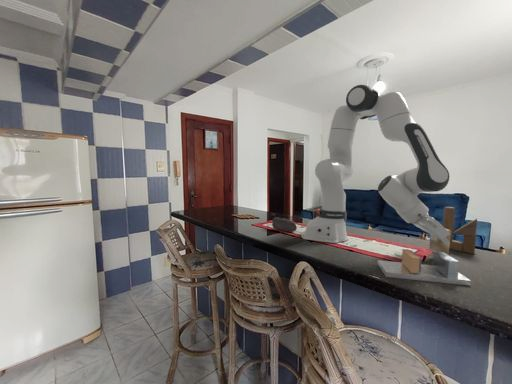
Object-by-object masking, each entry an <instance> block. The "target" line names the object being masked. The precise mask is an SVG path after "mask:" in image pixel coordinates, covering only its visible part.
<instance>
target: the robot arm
mask: <svg viewBox="0 0 512 384" xmlns="http://www.w3.org/2000/svg"><path fill="white" fill-rule="evenodd" d="M345 102H346V105H341V106H339V107H337V108H336V110H335V112H334V114H333V118H332V121H331V124H330V131H329V134H328V135H329V136H328V139H327V140H328V141H327V149H328V152H329V158H326V159H323V160H320V161H319V162H318V163H317V164H316V165H315V167H314V169H315V170H314V173H315V176H316V178H317V179H318V181H319V184H320V185H319V186H320V189H321V196H322V197H321V208H317V209H316V212H317V216H316V217H315V218H313V219H312V220H310V221H309V222H308V223H307V224H306V227H305V230H304V231H302V232H301V235H300V237H301V238H302V239H303V240H307V241H308V240H309V241H315V242H321V243H322V242H325V243H331V244H337V243H340V242H346V241H348V239H349V238H348V233H347V228H346V226H347V225H346V222H347V210H346V200H347V195H346V192H345V190H344V186H343V182H344V181H347V180H348V179H350V178H351V177H352V175H353V174H354V173H353V172H354V170H353V169H354V167H353V165H352V150H353V149H352V148H353V143H354V138H355V132H356V126H357V123H358V121H359V119H360V120H365V119H369V118H374V117H376V118H377V121H378V125H379V128H380V131H381V134H382V135H383V137H384V138H385V139H386V140H389V141H391V142H403V143H405V144H407V145H408V146H409V148H410V150H411V153H412V154H413V157H414V159H415V161H416V163H417V167H414V168H411V169H409V170H406V171H403V172H401V173H398V174H395V175H387V176H386V177H384V179H382V180H381V181H380V182H379V184H378V186H377V191H378V194H379V195H380V196H381V197H382V199H383V200H384V201H385V202H386V203H387V204H388V205H389V206H390V207H392V208H393V209H394V210H395V211H396V213H397V215H399V217H401V218H402V219H403V220H404V222H406V223H407V224H412V225H414V226H415V227H416V228H419V229H421V230H422V231H423V232H426V233H427V234H429V235H430V236H431V235H433V236H434V237H436V238H438V239H440V241H441V242H442V243H444V244H447V243H448V242H449V240H448V239H447V238H446V237H447V236H448V235H449V234H450V233H449V232H448V231H447V230H446V229H445V228H444V227H443V224H441V223H440V222H439V221H438V220H436V219H435V218H434V217H432V216H430V214H429V211H430V209H429V207H428V206H426V204H424V203H423V202H422V200H421V199H420V198H419V197H418V195H420V194H422V193H432V192H434V193H435V192H440V191H442V190H444V189H446V187H447V186H448V184H449V181H450V171H449V170H448V168H447V167H446V165H444V164H443V162H442V161H441V158H440V157H439V155H438V154H437V153H436V150H435V148H434V147H433V145H432V143H431V140H430V139H429V136H428V135H427V133H426V131H425V130H424V128H423V127H422V126H421V124H419V123H417V122H415V120H414V118H413V116H412V114H411V112H410V109H409V106H408V104H407V101H406V100H405V98H404V97H403V95H402V94H401V93H400V92H398V91H390V92H387V93H385V94H380V93H379V92H378V91H377V90H376V89H374V88H373V87H371V86H369V85H366V84H358V85H355V86H353V87H352V88H351V89H350V90H349V91H348V93H347V94H346V98H345Z"/></svg>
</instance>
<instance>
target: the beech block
mask: <svg viewBox="0 0 512 384" xmlns="http://www.w3.org/2000/svg"><path fill="white" fill-rule="evenodd" d="M445 229H446V228H445ZM446 230H447V231H448V232H449V233H450V234H449V235H448V236H447V237H446V238H447V239H448V240H449V242H448V243H447V244H444V243H442V242H441V241H440V239H438V238H436V237H434V236H433V235H430V236H429V237H430V238H429V247H428V250H430V251H431V252H432V253H433V252H444V253H446V254H447V255H449V254H450V249H449V246H450V236H451V231H450V230H448V229H446ZM449 256H450V255H449Z"/></svg>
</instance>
